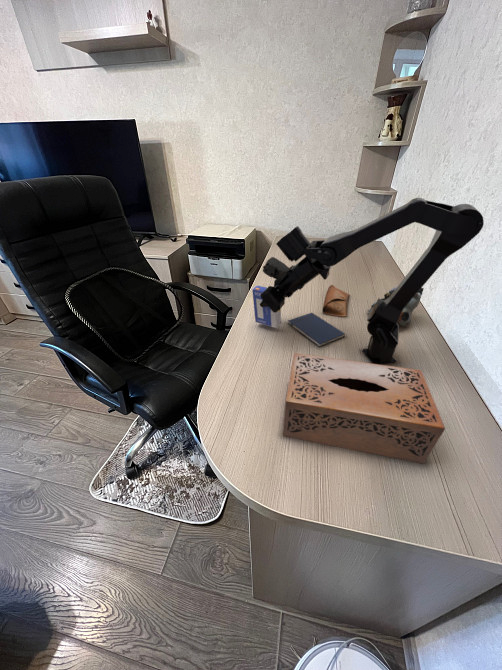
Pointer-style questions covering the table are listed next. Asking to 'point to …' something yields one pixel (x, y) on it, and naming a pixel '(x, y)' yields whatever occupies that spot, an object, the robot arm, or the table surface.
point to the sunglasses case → (335, 302)
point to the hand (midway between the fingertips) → (262, 303)
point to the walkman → (264, 310)
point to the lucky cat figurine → (407, 311)
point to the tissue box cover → (362, 407)
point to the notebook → (316, 329)
